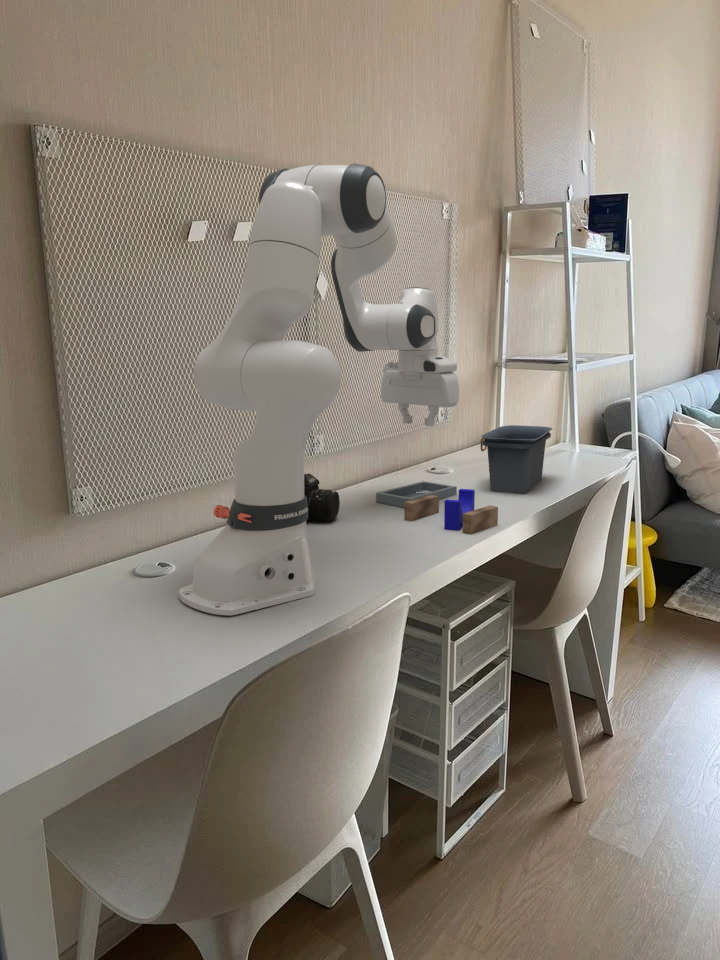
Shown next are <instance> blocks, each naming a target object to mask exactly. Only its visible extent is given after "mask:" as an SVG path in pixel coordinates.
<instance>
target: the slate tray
mask: <svg viewBox="0 0 720 960" xmlns="http://www.w3.org/2000/svg"><path fill="white" fill-rule="evenodd" d="M457 488H458V487H457V486H456V485H450V484H449V485H448V484H444V483H442V484H441V483H437V482H436V483H435V482H431V481H424V480H422V481H418V482H415V483H414V482H413V483H411V484H406V485H402V486H399V487H394V488H389V489H386V490H382V491H378V492H375V503H376V504H377V503H378V504H380V505H381V504H382V505H386V506H390V507H396V508H401V509H404V502H407V501H410V500H414V499H418V498H422V497H425V496H429V495H436V496H439V501H443V500H444V499H445V500H446V499H448V498H451V496H452V497H455V496H457V491H458V490H457ZM423 491H426V492H423ZM416 492H418V493H416ZM419 492H420V493H419ZM454 495H455V496H454Z"/></svg>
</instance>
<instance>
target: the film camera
mask: <svg viewBox="0 0 720 960" xmlns="http://www.w3.org/2000/svg"><path fill="white" fill-rule="evenodd" d="M320 483H321V482H320V480H319V479H317V478H316V477H315V476H314V475H313V474H311V473H304V495H305V496H306V497H307V505H308V519H307V520H306V523H308V522H309V521H312V522H314V523H315V522H316V523H320V522H321V523H324V522H327V523H330V522H331V523H333V522H335V520H336V519H337V517H338V515H339V512H340V503H341V501H340V494H339V492H338V491H335V490H334V491H333V490H331V489H323V488H320V487H319V485H320Z"/></svg>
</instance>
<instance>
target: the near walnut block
mask: <svg viewBox="0 0 720 960" xmlns="http://www.w3.org/2000/svg"><path fill="white" fill-rule="evenodd" d="M498 518H499V506H495V505H491V504H490V505H486V506H482V507H479V508H477V509H474V510H473V511H470V512H467V513H463V528H462V534H467V535H474V534H476V533H479V532H483V531H485V530H488V529H491V528H494V527H496V526H498V523H499V521H498V520H499V519H498Z"/></svg>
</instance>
